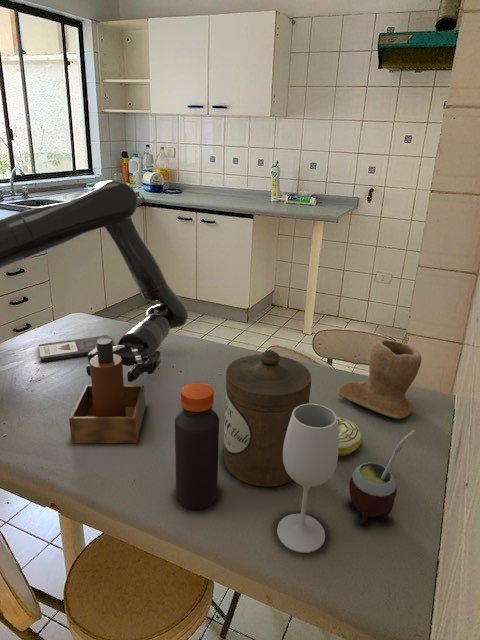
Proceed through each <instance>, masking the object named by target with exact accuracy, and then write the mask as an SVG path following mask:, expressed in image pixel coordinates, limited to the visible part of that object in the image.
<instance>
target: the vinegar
mask: <svg viewBox="0 0 480 640" xmlns="http://www.w3.org/2000/svg"><path fill="white" fill-rule="evenodd" d="M214 393H215V391H214V388H213V387H212V386H211V385H209V384H207V383H204V382H190V383H187V384H185V385H184V386H183V387H181V389H180V407H181V409H180V411H179V412H178V413H177V414H176V416H175V419H174V448H175V449H174V451H175V452H174V455H175V458H174V461H175V496H176V500H177V502H178V503H179V504H180V505H181V506H182V507H184V508H186V509H189V510H202V509H203V510H204V509H206V508H208V507H210V506H212V505H213V503H215V501H216V499H217V497H218V484H219V483H218V481H219V480H218V479H219V446H220V445H219V444H220V443H219V442H220V439H219V438H220V437H219V436H220V418H219V416H218V413H217V412H216V411H214V409H213V407H214V400H215V399H214V398H215V397H214Z"/></svg>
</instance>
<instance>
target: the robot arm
mask: <svg viewBox="0 0 480 640" xmlns="http://www.w3.org/2000/svg"><path fill="white" fill-rule="evenodd" d="M138 203H139V201H138V195H137V193H136V191H135V190H134V189H133V187H131V186H130V185H129V184H127V183H126V182H123V181H120V180H116V179H115V180H114V179H113V180H103V181H99V182H98V183H96V184H94V185H93V187H92V188H91V190H90V191H89V192H87V193H84V194H83V195H81V196H78V197H75V198H73V199H71V200H67V201H63V202H59V203H53V204H48V205H43V206H40V207H39V206H38V207H34V208H30V209H27V210H23V211H19V212H18V213H15V214H12V215H9V216H6V217H3V218H1V219H0V270H2V269H4V268H8V267H9V266H12V265H15V264H17V263H21V262H23V261H26V260H29V259H31V258H34V257H36V256H39V255H41V254H43V253H46V252H47V251H50V250H52V249H55V248H57V247H58V246H61V245H63V244H65V243H67V242H69V241H71V240H73V239H75V238H77V237H79V236H81V235H83V234H85V233H88V232H91V231H94V230H98V229H101V228H105V230H106V232H107V233H108V234H109V236H110V237H111V239H112V241H113V242H114V244H115V246H116V248H117V249H118V251H119V253H120V255H121V257H122V258H123V261H124V263H125V265H126V266H127V269H128V270H129V272H130V274H131V277H132V279H133V281H134V283H135V285H136V287H137V289H138V291H139V293H140V295H141V297H142V298H143V299H144V300H145V301H150V302H159V303H157V304H155V305H152V306H150V307H149V308H147V309H146V312H145V314H144V316H143V319H142V320H141V321H140V322H137V323H136V324H135V325H133V326H132V327H131V329H129V330H128V331H127V332H126V333H125V334H124V335H122V337H121V338H120V339H119V340H118V342H117V345H114V346H113V354H117V355H119V356H121V358H122V366H126V367H130V369H129V370H128V371H127V382H130V383H133V382H134V381H136V380H137V379H138V378H139V377H140V376H141V375H144V374H145V373H147V374H148V375H153V374H154V373H155V371H156V370H157V368H158V367H159V365H160V364H161V361H162V360H161V351H160V350H158V349H159V348H160V346H161V344H162V343H163V342H164V341H165V340H166V338H167V337H168V336H169V334H170V331H171V329H176V328H177V329H178V328H181V327H183V326H185V325H186V324H187V322H188V318H189V314H188V313H189V312H188V309H187V307H186V305H185V304H184V302H183V301H182V300H181V298H180V297H179V296H178V295H177V294H176V293H175V292H174V290H173V288H171V286H170V285H169V284H168V283H167V279H166V277H165V276H164V274H163V272H162V269H161V266H159V264H158V262H157V260H156V258H155V256H154V255H153V253H152V252H151V251H150V249H149V248H148V246H147V245H146V243H145V242H144V241H143V239H142V237H141V236H140V234H139V232H138V230H137V228H136V226H135V224H134V221H133V218H132V216H133V215H134V214H135V212H136V210H137V208H138ZM97 355H98V353H97V347H96V348H95V349H94V350H92V351H91V352H90V353H88V355H87V361H88V364H86V366H85V368H86V374H87V376H89V377H91V373H90V363H89V362H90V359H91V358H93V357H94V356H97Z"/></svg>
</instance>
